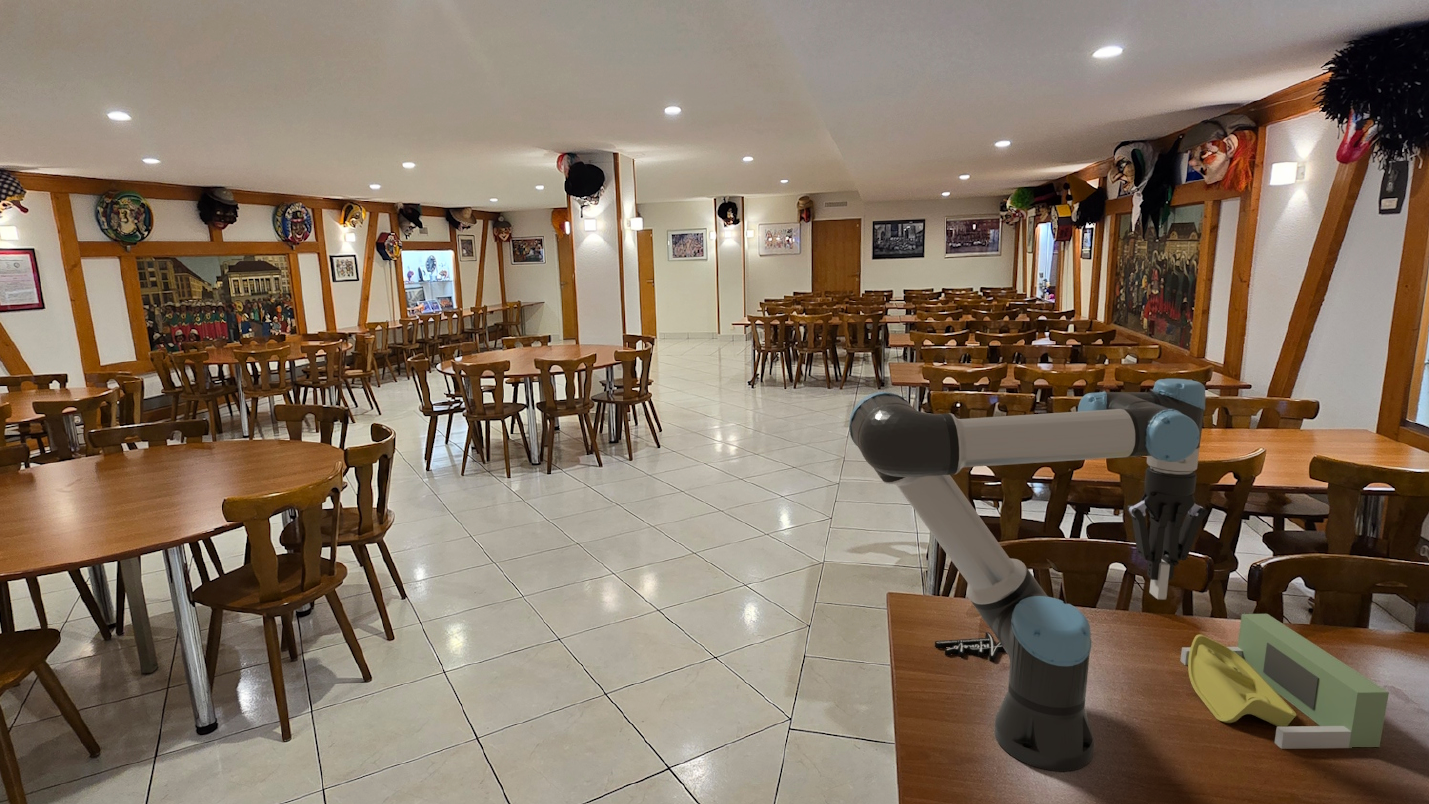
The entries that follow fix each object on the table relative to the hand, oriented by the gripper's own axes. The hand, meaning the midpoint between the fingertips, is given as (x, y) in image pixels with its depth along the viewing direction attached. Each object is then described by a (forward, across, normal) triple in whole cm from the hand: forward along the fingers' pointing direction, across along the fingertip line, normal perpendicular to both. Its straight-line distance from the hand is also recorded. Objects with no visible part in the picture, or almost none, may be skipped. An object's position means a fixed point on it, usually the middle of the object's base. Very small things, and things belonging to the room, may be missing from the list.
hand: (1157, 595), depth 133 cm
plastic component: (+20, +16, 0) cm, 26 cm away
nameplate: (+21, -20, +17) cm, 34 cm away
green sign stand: (+20, +22, -1) cm, 29 cm away
